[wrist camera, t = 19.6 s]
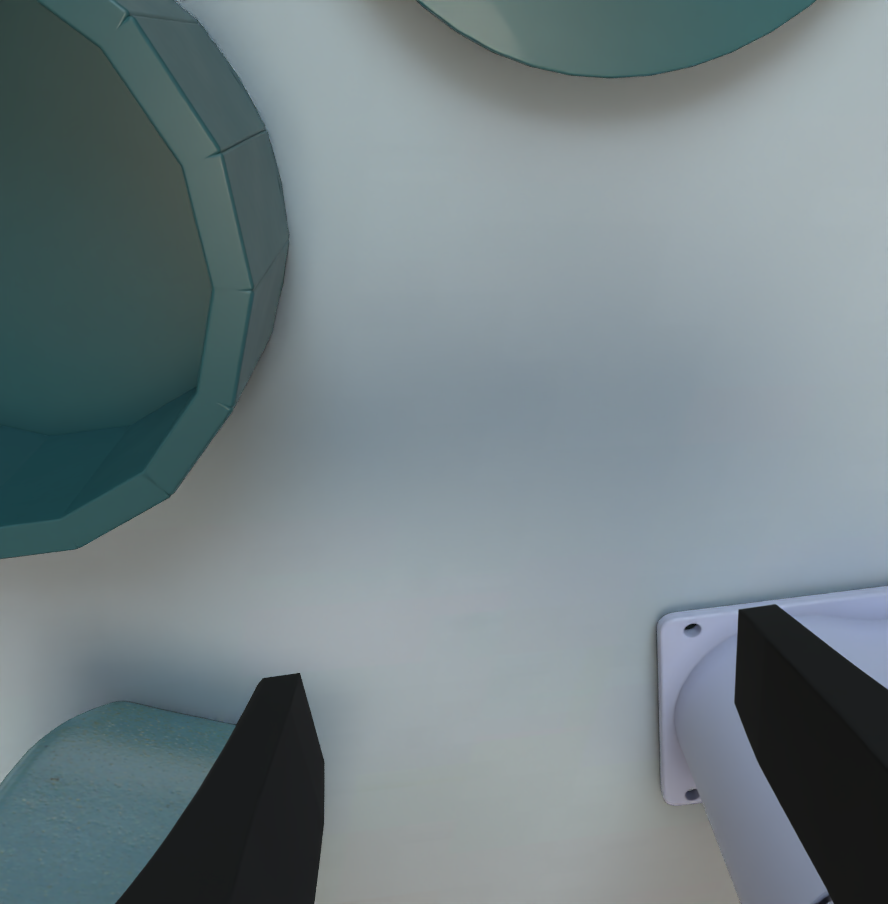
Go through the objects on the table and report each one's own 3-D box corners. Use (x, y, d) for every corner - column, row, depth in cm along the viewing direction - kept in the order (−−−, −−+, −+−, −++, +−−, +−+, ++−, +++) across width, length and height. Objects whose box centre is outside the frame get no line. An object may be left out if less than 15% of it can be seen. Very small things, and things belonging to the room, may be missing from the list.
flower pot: (343, 697, 27) (313, 973, 19) (278, 876, 31) (229, 1174, 22) (65, 632, 26) (-96, 901, 18) (31, 828, 29) (-117, 1127, 21)
